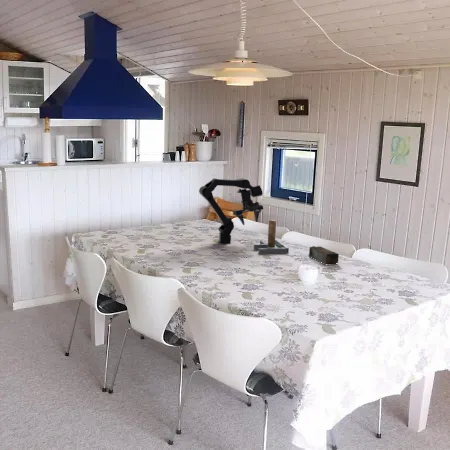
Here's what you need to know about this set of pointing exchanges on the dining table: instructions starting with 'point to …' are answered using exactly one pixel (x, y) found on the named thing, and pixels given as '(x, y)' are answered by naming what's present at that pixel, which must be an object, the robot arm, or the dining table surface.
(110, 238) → the dining table surface
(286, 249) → the metal rail corridor
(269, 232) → the walnut post
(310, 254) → the dark grey box
